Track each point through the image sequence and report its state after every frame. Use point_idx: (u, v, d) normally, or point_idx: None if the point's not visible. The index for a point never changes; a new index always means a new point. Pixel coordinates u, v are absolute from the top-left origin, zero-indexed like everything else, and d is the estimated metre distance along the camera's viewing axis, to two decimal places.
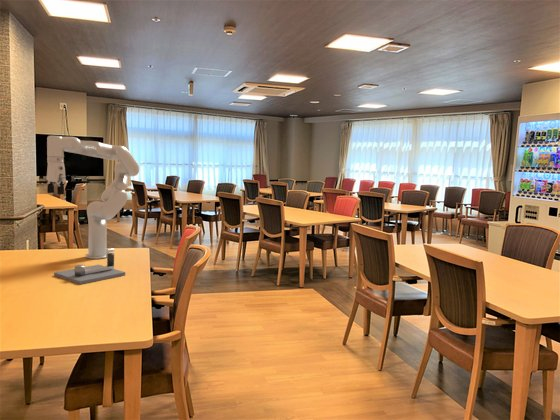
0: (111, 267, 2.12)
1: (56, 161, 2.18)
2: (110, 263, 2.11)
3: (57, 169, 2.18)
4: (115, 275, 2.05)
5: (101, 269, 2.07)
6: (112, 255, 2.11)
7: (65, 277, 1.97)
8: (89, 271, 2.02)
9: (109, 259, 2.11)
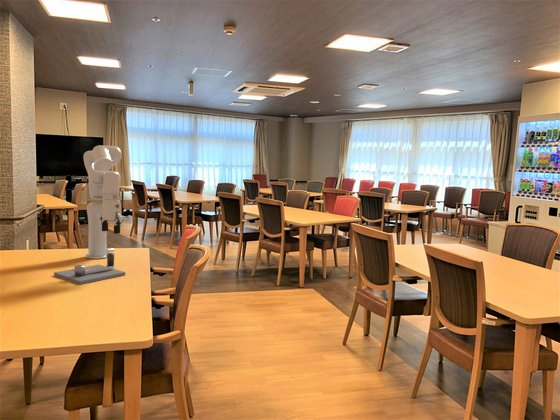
0: (111, 267, 2.12)
1: (112, 199, 2.06)
2: (110, 263, 2.11)
3: (114, 207, 2.06)
4: (115, 275, 2.05)
5: (101, 269, 2.07)
6: (112, 255, 2.11)
7: (65, 277, 1.97)
8: (89, 271, 2.02)
9: (109, 259, 2.11)
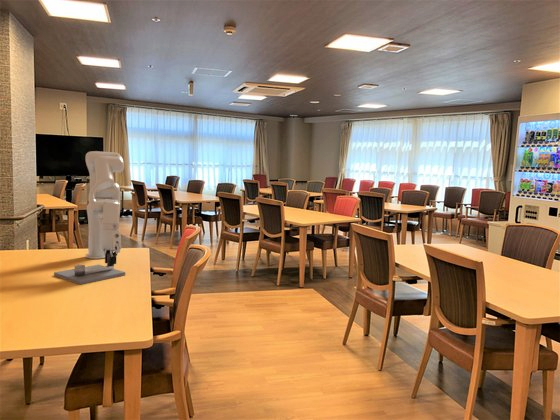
0: (111, 267, 2.12)
1: (112, 228, 2.07)
2: None
3: (113, 237, 2.07)
4: (115, 275, 2.05)
5: (101, 269, 2.07)
6: None
7: (65, 277, 1.97)
8: (89, 271, 2.02)
9: (109, 259, 2.11)
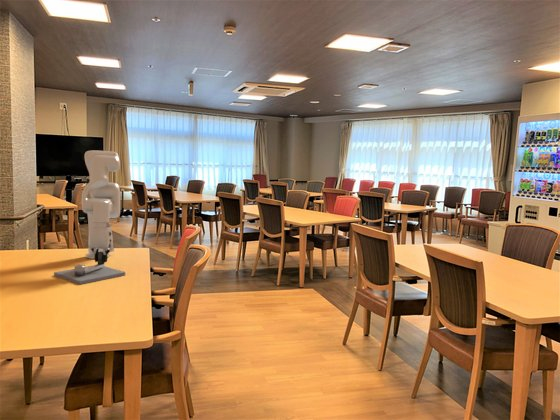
0: (102, 265, 2.14)
1: (106, 227, 2.11)
2: None
3: (108, 235, 2.11)
4: (115, 275, 2.05)
5: (95, 268, 2.09)
6: None
7: (65, 277, 1.97)
8: (87, 270, 2.03)
9: (101, 257, 2.13)
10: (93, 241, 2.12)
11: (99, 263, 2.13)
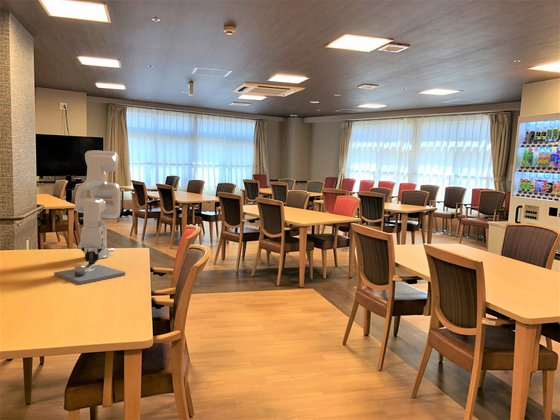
0: (94, 264, 2.15)
1: (98, 226, 2.12)
2: None
3: (100, 234, 2.13)
4: (115, 275, 2.05)
5: (90, 267, 2.10)
6: None
7: (65, 277, 1.97)
8: (85, 270, 2.03)
9: (92, 257, 2.14)
10: (84, 241, 2.11)
11: (91, 262, 2.14)
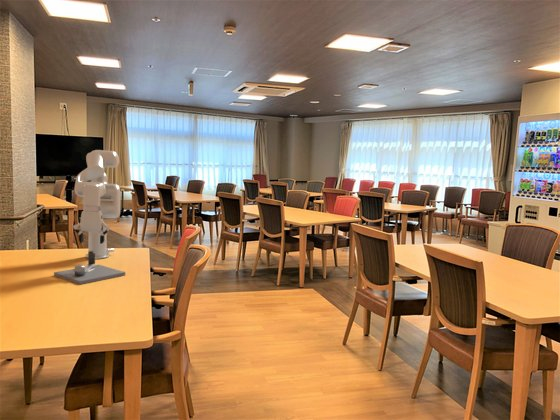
0: (93, 264, 2.15)
1: (98, 210, 2.12)
2: (93, 260, 2.14)
3: (100, 218, 2.12)
4: (115, 275, 2.05)
5: (90, 267, 2.10)
6: (94, 252, 2.15)
7: (65, 277, 1.97)
8: (85, 270, 2.03)
9: (92, 257, 2.14)
10: (84, 225, 2.11)
11: (91, 262, 2.14)
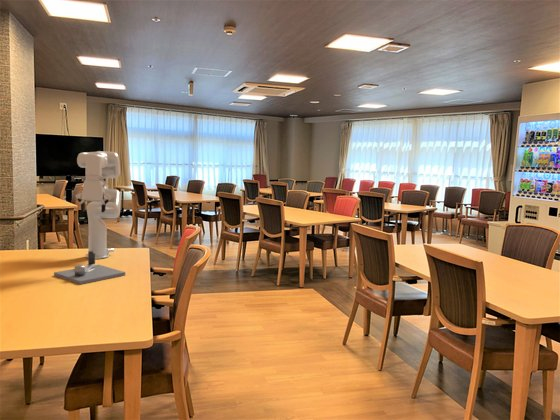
0: (93, 264, 2.15)
1: (99, 179, 2.19)
2: (93, 260, 2.14)
3: (101, 187, 2.19)
4: (115, 275, 2.05)
5: (90, 267, 2.10)
6: (94, 252, 2.15)
7: (65, 277, 1.97)
8: (85, 270, 2.03)
9: (92, 257, 2.14)
10: (86, 193, 2.18)
11: (91, 262, 2.14)
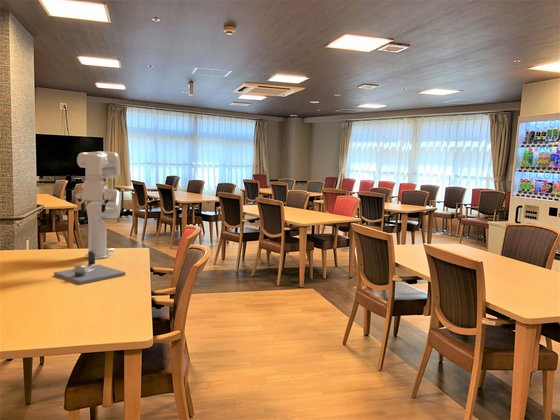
0: (93, 264, 2.15)
1: (99, 179, 2.19)
2: (93, 260, 2.14)
3: (101, 187, 2.19)
4: (115, 275, 2.05)
5: (90, 267, 2.10)
6: (94, 252, 2.15)
7: (65, 277, 1.97)
8: (85, 270, 2.03)
9: (92, 257, 2.14)
10: (86, 193, 2.18)
11: (91, 262, 2.14)
